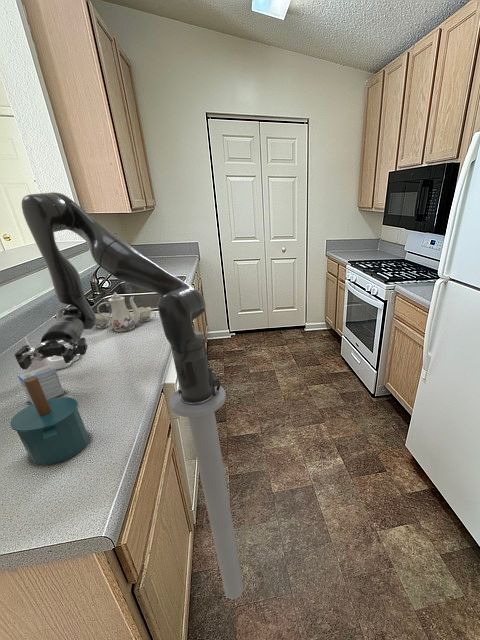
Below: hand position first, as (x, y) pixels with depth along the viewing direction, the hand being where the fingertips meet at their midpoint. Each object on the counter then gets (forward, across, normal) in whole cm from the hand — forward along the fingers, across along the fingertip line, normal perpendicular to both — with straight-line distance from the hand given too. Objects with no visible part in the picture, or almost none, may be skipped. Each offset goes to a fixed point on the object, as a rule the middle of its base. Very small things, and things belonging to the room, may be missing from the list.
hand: (44, 362), depth 77 cm
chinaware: (-74, +6, +18) cm, 77 cm away
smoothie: (-33, -15, +18) cm, 40 cm away
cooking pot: (+9, 0, +18) cm, 20 cm away
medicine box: (-18, -10, +18) cm, 27 cm away
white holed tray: (-46, -13, +18) cm, 51 cm away
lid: (+9, 0, +9) cm, 12 cm away
